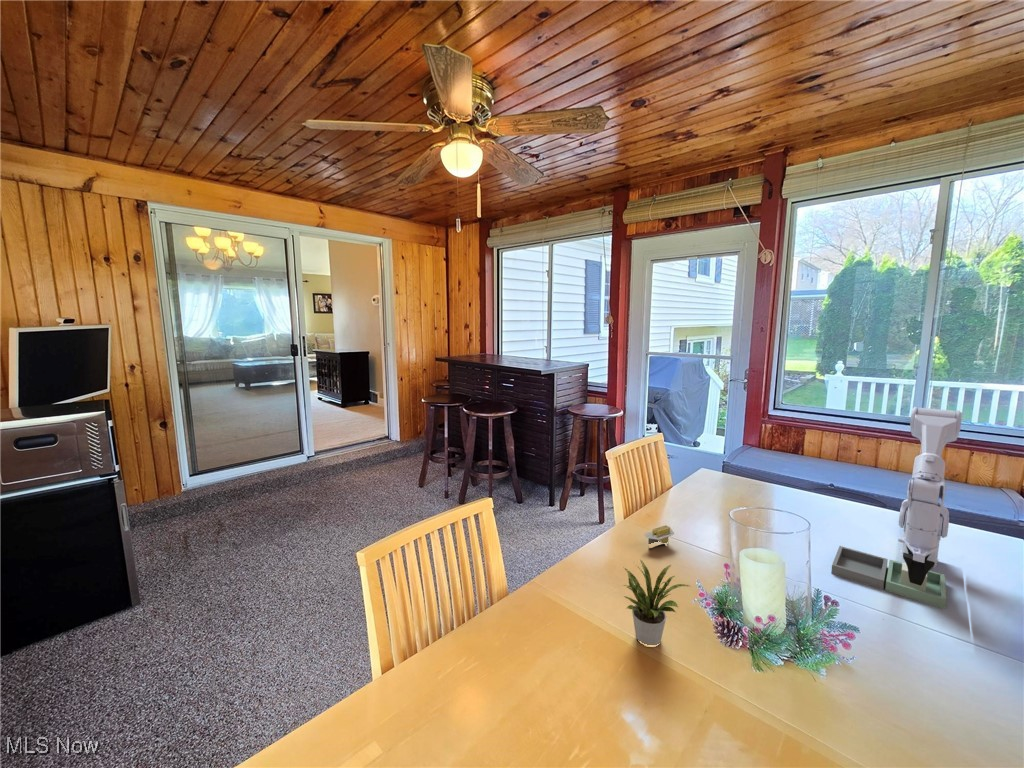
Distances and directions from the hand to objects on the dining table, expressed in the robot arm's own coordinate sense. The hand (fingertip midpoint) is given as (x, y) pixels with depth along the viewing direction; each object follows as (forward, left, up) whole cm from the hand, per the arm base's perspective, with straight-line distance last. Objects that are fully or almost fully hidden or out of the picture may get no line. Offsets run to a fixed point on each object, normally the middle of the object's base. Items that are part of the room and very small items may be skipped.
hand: (915, 576), depth 108 cm
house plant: (+61, -41, -4) cm, 73 cm away
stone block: (0, 0, -3) cm, 3 cm away
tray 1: (0, -11, -3) cm, 12 cm away
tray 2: (0, 0, -3) cm, 3 cm away
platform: (+23, -57, -4) cm, 62 cm away
